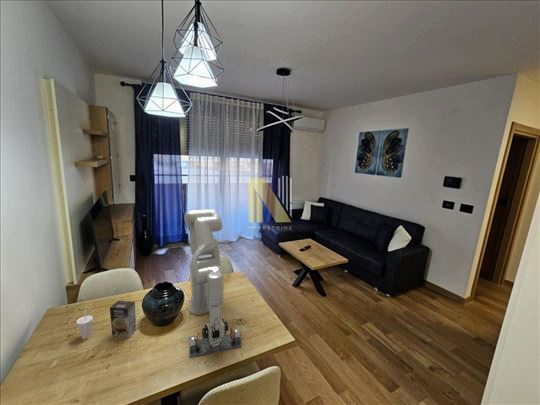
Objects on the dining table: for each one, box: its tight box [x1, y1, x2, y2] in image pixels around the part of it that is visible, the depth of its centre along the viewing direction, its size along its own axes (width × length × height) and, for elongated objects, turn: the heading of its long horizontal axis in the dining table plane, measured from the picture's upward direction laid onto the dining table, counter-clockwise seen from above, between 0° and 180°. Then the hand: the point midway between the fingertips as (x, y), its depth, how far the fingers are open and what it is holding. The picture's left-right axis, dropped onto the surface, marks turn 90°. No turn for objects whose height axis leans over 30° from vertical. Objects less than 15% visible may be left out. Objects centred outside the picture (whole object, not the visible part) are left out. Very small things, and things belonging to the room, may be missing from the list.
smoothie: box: [76, 310, 94, 339], centre depth 116 cm, size 6×6×14 cm
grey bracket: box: [188, 326, 242, 359], centre depth 115 cm, size 24×9×7 cm, turn 107°
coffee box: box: [109, 300, 137, 338], centre depth 120 cm, size 9×6×16 cm
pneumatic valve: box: [201, 318, 229, 347], centre depth 114 cm, size 6×12×12 cm, turn 120°
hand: (215, 332), depth 115 cm, fingers open, 6 cm apart
